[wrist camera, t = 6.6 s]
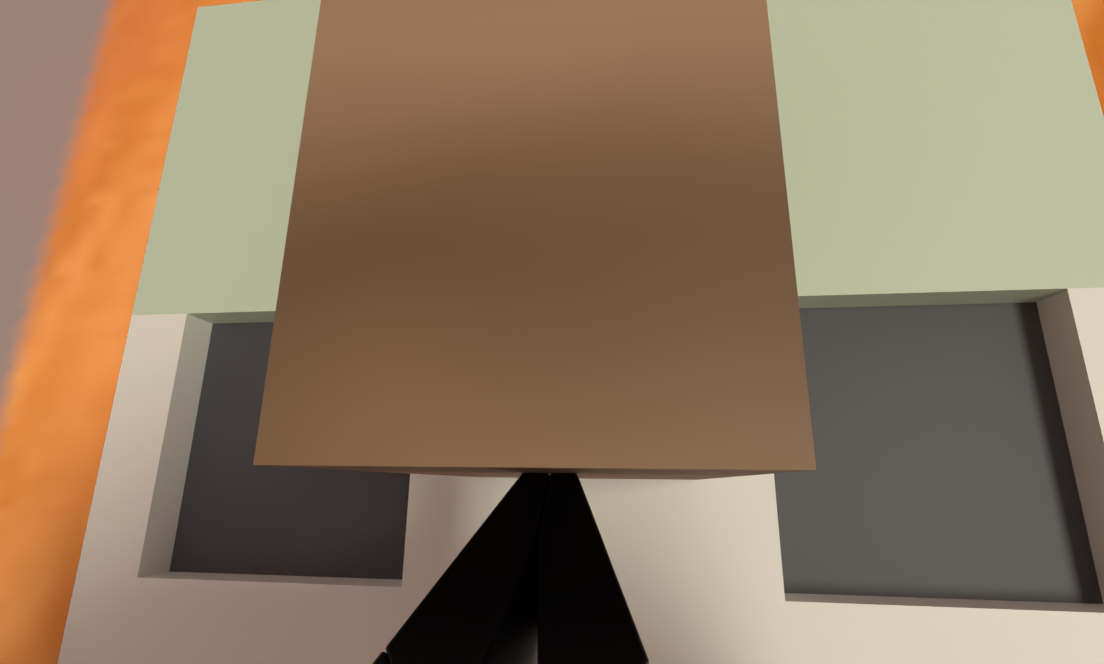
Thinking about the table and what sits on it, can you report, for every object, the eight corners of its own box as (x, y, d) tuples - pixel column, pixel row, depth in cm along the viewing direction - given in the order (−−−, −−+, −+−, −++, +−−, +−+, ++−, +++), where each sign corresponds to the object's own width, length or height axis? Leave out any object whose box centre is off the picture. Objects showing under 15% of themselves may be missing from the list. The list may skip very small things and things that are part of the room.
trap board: (1324, 1164, 12) (1423, 1260, 10) (38, 983, 15) (-23, 1035, 14) (1017, -40, 20) (1048, -81, 18) (224, 36, 23) (198, 7, 22)
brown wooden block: (696, 479, 15) (816, 471, 6) (478, 477, 16) (252, 465, 6) (672, 19, 19) (718, -452, 9) (498, 35, 20) (377, -387, 10)
